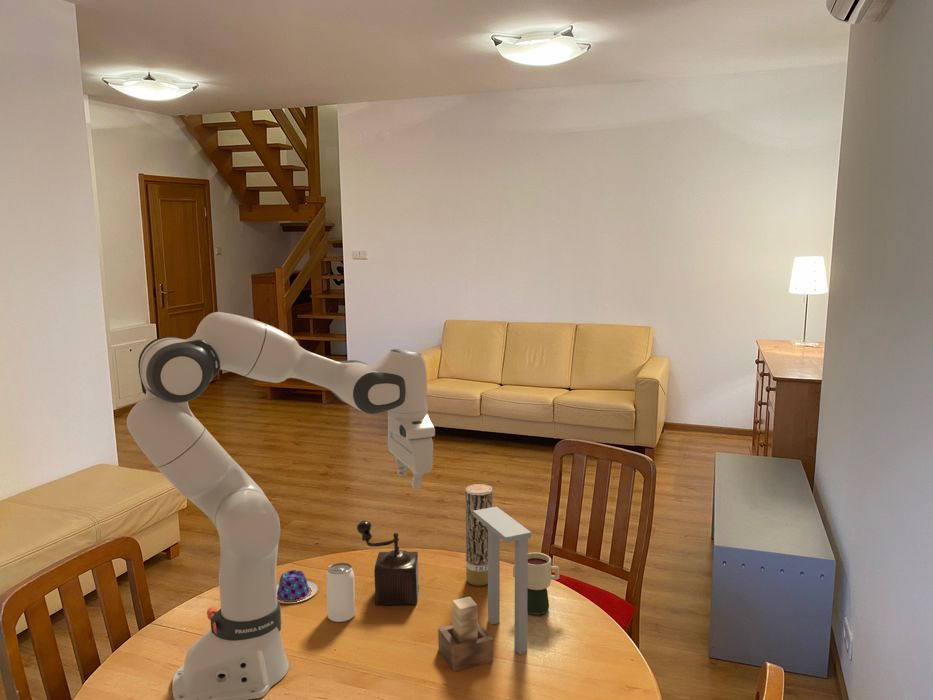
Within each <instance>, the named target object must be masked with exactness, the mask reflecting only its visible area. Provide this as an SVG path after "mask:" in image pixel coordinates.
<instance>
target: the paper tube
mask: <svg viewBox="0 0 933 700" xmlns="http://www.w3.org/2000/svg"><path fill="white" fill-rule="evenodd" d="M491 507H493V486H490V485H488V484H484V483H483V484H482V483H479V484H478V483H476V484H469V485H468V486H466V487H465V569H466V570H465V571H466V572H465V573H466V575H465V579H466V581H467V582H468V583H469V584H470V585H473V586H477V587H480V586H481V587H482V586H486V585H488V528H487V527H486V526H485V525H483V524H482V523H481V522H480V521H479V520H477V519H476V518H475V517H474V516H473V511H474V510H480V509H486V508H491Z"/></svg>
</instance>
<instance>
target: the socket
mask: <svg viewBox="0 0 933 700" xmlns="http://www.w3.org/2000/svg"><path fill="white" fill-rule="evenodd" d="M437 632H438V633H437V634H438V636H437V639H438V640H437V641H438V644H437V645H438V651H439V652H440V654H441V655H442V656H443V658H444V659H445V661H446V662H447V663H448V665H449V666H450V668H451V669H452V671H454V672H456V673H457V672H458V671H462V670H466V669H470V668H473V667H477V666H481V665H484V664H489V663H491V662H494V639H493V638H492V636H491V635H490V633H488V631H486V630H485V628H484V627H483V626H482V625H481V623H479V622H478V639H476V640H472V641H468V642H464V643H460V644H457V642H456V641H455V640H454V638H453V624H450V625H446V626H445V625H444V626H441V627H438V630H437Z"/></svg>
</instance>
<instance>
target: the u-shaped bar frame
mask: <svg viewBox="0 0 933 700" xmlns="http://www.w3.org/2000/svg"><path fill="white" fill-rule="evenodd" d="M473 516H474V517H475V518H476V519H477V520H479V521H480V522H481V523H482V524H483V525H485V526H486V527H487V528H488V584H487V621H488V622H489V624H491V625H497V624H499V623H500V622H501V621H500V611H501V610H500V601H501V599H500V598H501V596H500V595H501V593H500V586H501V583H500V582H501V581H500V579H501V578H500V577H501V576H500V575H501V574H500V572H501V569H500V568H501V567H500V566H501V564H500V562H501V560H500V558H501V557H500V555H501V554H500V552H501V551H500V548H501V547H500V545H501V543H500V542H501V541H503V542H504V543H505V544H506V543H513V542H514V565H515V578H514V637H513V639H514V643H513V644H514V645H513V646H514V647H513V648H514V651H515V652H516V653H517V654H518V655H522V654H526V653H528V612H527V591H528V551H529V550H528V549H529V547H528V546H529V544H528V543H529V539H531V538H532V532H531V531H530V530H529V529H528V528H526V527H525V526H524V525H522V524H521V523H519V522H518V521H517V520H515V519H514V518H512V517H511V516H510V515H509V514H507V513H506V512H505V511H503V509H500V508H499V507H498V506H492V507H491V508H486V509H480V510H474V511H473Z"/></svg>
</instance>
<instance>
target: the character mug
mask: <svg viewBox="0 0 933 700" xmlns="http://www.w3.org/2000/svg"><path fill="white" fill-rule="evenodd" d="M552 571H554V574H552ZM512 574H513V575H512V576H513V578H514V579H515V564H514V565H513V568H512ZM559 579H560V567H559V566H557V565H552V558H551V556H549V555H548V554H547V553H546V554H545V553H542V552H529V553H528V591H527V613H529V614H532V615H541V614H544V613H546V612H547V611H548V610H549V608H550V602H549V601H550V600H549V595H548V593H549V592H548V589H547V588H549V587H550V585H551V582H552V580H559Z"/></svg>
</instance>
